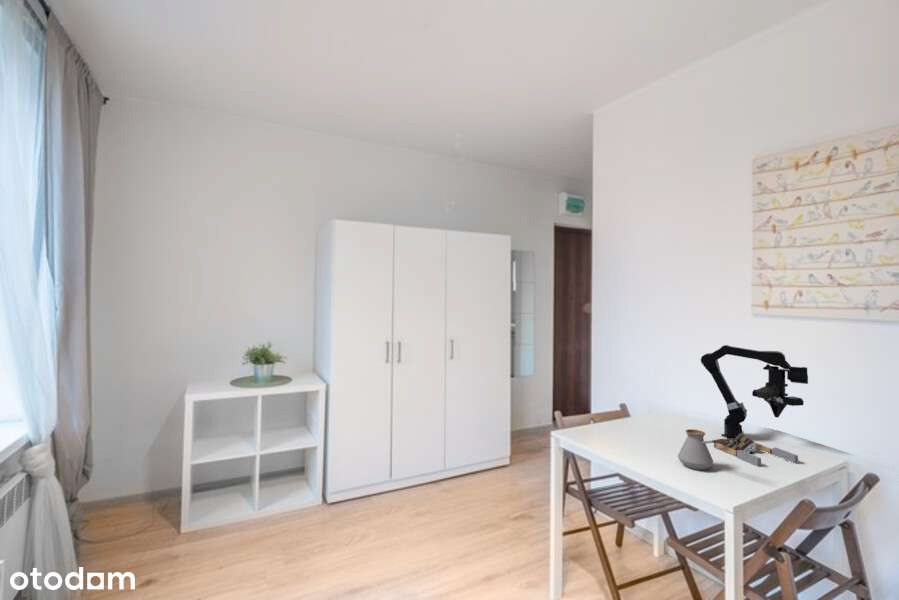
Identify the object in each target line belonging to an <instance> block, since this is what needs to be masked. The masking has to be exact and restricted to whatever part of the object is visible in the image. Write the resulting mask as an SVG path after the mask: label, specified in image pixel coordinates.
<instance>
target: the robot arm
mask: <svg viewBox="0 0 899 600" xmlns="http://www.w3.org/2000/svg"><path fill="white" fill-rule="evenodd" d="M726 355H729V356H734V357H741V358H747V359H752V360H758V361H761V362H763V363H766V365H765V366H763V368H762V370H766V371H767V372H768V382H765V385H764V386H763V387H762V386H761V387H760V388H757V389H753V390H752V393H751V395H752V397H756V398H759V399H763V400H764V401H765V402H766V403H767V404H768V405H769V406H770V409H771V411H772V415H773V416H774V417H775V418H779V417H780V416H781V414H782V413H783V411H784V409H785V408H786V407H787V406H792V407H794V406H796V407H797V406H798V407H799V406H804V402H805V401H804V400H803V398H801V397H797V396H789V395H788V393H787V392H786V388H787V387H788V386H789V384H788V383H786V379H787V381H790V383H792V384H794V383H795V384H803V385H805V384H806V385H808V384H809V375H808V367H807V366H791V364H790V363H789V362H788V361H787V360H786V354H784V353H783V352H782V351H779V350H755V349H750V348H744V347H736V346H731V345H728V344H724V345H722V346H721V347H720V348H719V349H716V350H715V351H713V352H709V353H708V352H707V353H705V354H703V355H702V356H701V358H700V363H701V364H702V365H703V367H704V368H705V369H706V371H707V372H708V373H709V374H710V375H711V377H712V378H713V381H714V382H715V384H716V386H717V388H718V390H719V392H720V393H721V395H722V397H723V399H724V401H725V404H726V406H727V407H726V408H727V412H728V415H726V417H725V418H724V420H723V422H724V428H723V429H724V432H723V433H721V436H723V437H724V436H725V438H726V439H727V438H729V439H731V438H733V439H735V438H736V437H737V436H738V435H739V434H741V433H742V432H743V428H742V427H743V425H742V424H741V423H743V422H745V420H746V418H747V416H748V415H747V412H748V410H747V409H746V407H745V405H744V403H743V402H739V401H738V400H737V399H736V398H735V396H734V394H733V392H732V390H731V388H730V386H729V384H728V382H727V380H726V378H725V377H724V375H723V373H722V372H721V367H720V364H719V359H721V358H724V357H725V356H726ZM786 373H787V375H786ZM786 376H787V377H786Z"/></svg>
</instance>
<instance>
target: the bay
mask: <svg viewBox="0 0 899 600" xmlns="http://www.w3.org/2000/svg"><path fill="white" fill-rule="evenodd" d="M772 455H773V456H774V455H775V456H774V457H776V456H778V457H777V458H779V457H781V458H784V459H786V460H785V461H787V460H789V461H791V462H790V463H792V462H793V463H792V464H794V463H797V464H799V455H798V454H795V453H791V452H790V451H787V450H785V449H781V448H778V447H777V446H774V447H772ZM736 458H737V459H738V460H739V459H740V460H741V461H744V462H746V463H748V464H751V465H753V466H755V465H756V467H757V466H759V467H762V457H759V456H756V455H754V454H752V453H751V454H749V453H747V452H744V451H742V450H737V457H736ZM781 458H780V459H781ZM784 459H783V460H784ZM789 461H788V462H789Z"/></svg>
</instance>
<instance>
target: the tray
mask: <svg viewBox="0 0 899 600" xmlns="http://www.w3.org/2000/svg"><path fill="white" fill-rule="evenodd" d="M730 442H731V441H730ZM730 442H723V443H713V448H715V449H718V450H720V451H723V452H724V453H726V454H729V455H732V456H733V457H736V458H737V451H736V450H734V449H731V448H729V447H726V445H727V444H728V443H730ZM756 448H757V449H756V450H758V449H760V450H759V451H761V450H762V451H761V452H763V451H765V452H764V453H766V452H768V453H767V454H769V453H770V454H769V455H772V454H773V448H770V447H768V446H765V445H762V444H759V443H758V442H756ZM771 453H772V454H771Z"/></svg>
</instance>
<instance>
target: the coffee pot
mask: <svg viewBox="0 0 899 600" xmlns="http://www.w3.org/2000/svg"><path fill="white" fill-rule="evenodd" d="M685 433H686V435H687V436H686V438H685V440H684V443H683V444H682V447H681V448H680V450H679V452H678V454H677V458H678V460H679V461H680V463H682V464H683V466H684V467H686V468H689V469H692V470H696V471H705V470H708V469H710V467H712V466H713V464H714V460H713V457H712V454H711V453H710V451H709V448H708V446H707V444H712V443H713V444H714V443H723V442H730V441H734V440H735V439H733V438H731V439H730V438H727V437H726V438H718V439H713V440H712V439H711V440H705V439H704V436H705V435H706V432H705V431H702V430H698V429H691V428H689V429H686V430H685ZM732 444H733V443H732ZM736 444H737V441H736ZM736 444H734V445H736Z"/></svg>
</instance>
